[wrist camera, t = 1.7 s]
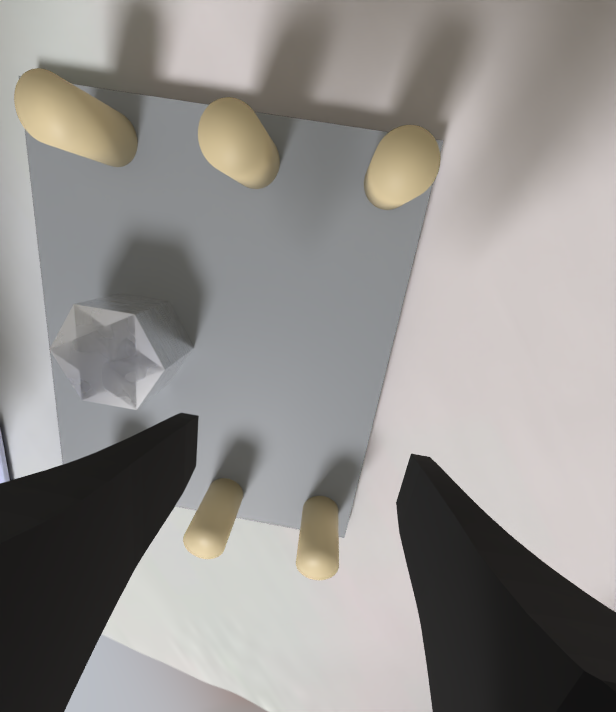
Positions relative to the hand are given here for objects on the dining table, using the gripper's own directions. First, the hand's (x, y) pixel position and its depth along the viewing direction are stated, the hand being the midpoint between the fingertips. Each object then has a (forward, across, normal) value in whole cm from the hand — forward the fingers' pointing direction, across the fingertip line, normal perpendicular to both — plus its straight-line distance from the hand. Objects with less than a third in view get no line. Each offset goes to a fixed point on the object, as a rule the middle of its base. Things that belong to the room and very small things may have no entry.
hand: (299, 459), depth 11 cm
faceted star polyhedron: (+8, +10, 0) cm, 13 cm away
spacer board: (+10, +6, 0) cm, 11 cm away
